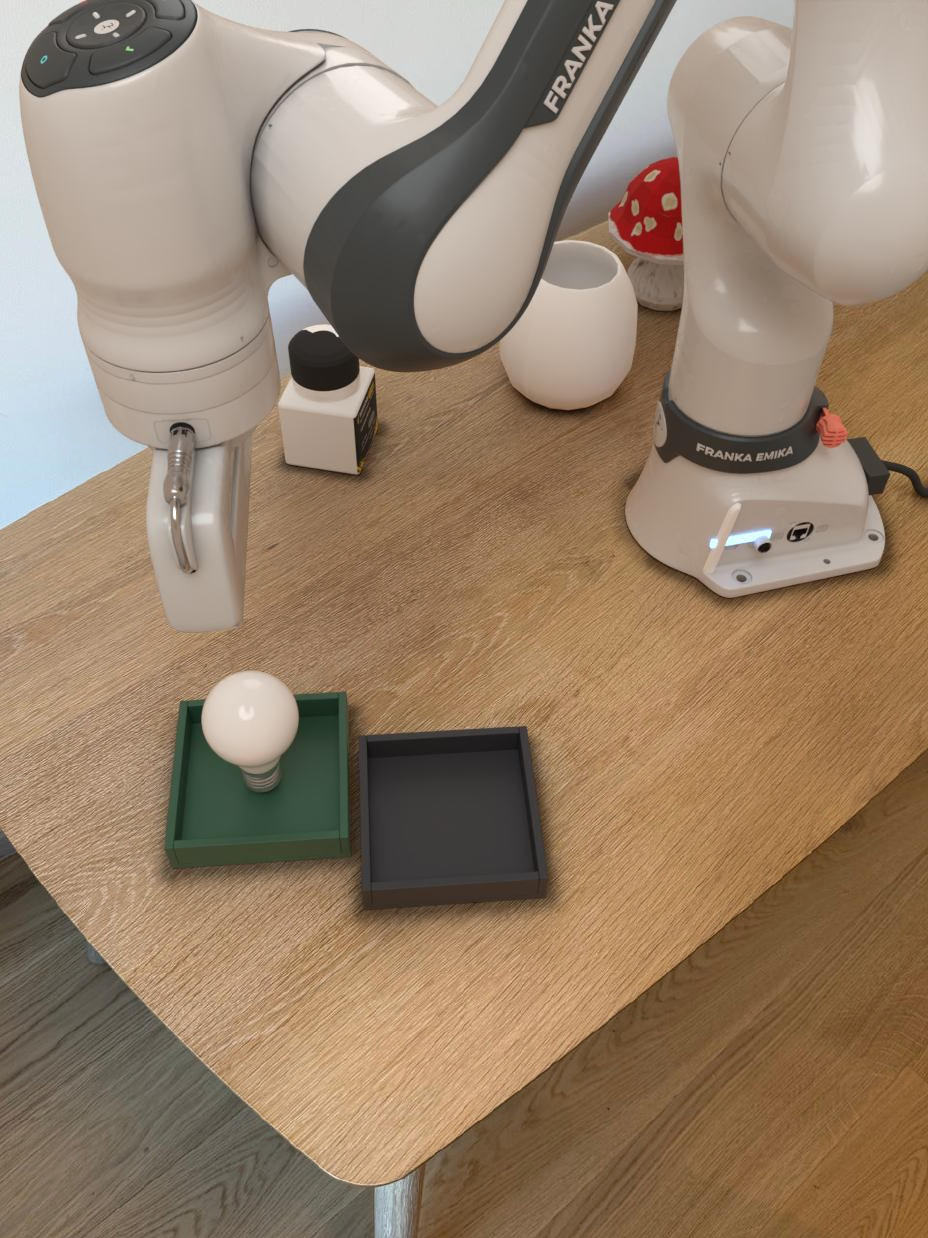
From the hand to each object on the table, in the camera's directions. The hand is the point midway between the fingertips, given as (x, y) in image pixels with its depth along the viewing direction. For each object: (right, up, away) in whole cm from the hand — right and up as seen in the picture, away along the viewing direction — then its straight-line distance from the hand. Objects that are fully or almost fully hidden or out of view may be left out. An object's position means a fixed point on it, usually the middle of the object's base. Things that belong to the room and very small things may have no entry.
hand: (232, 558), depth 65 cm
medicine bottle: (+1, +13, +39) cm, 41 cm away
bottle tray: (+12, -18, +13) cm, 25 cm away
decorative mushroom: (+35, +32, +56) cm, 74 cm away
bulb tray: (-1, -16, +15) cm, 21 cm away
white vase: (+23, +20, +46) cm, 55 cm away
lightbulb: (-1, -15, +14) cm, 21 cm away
